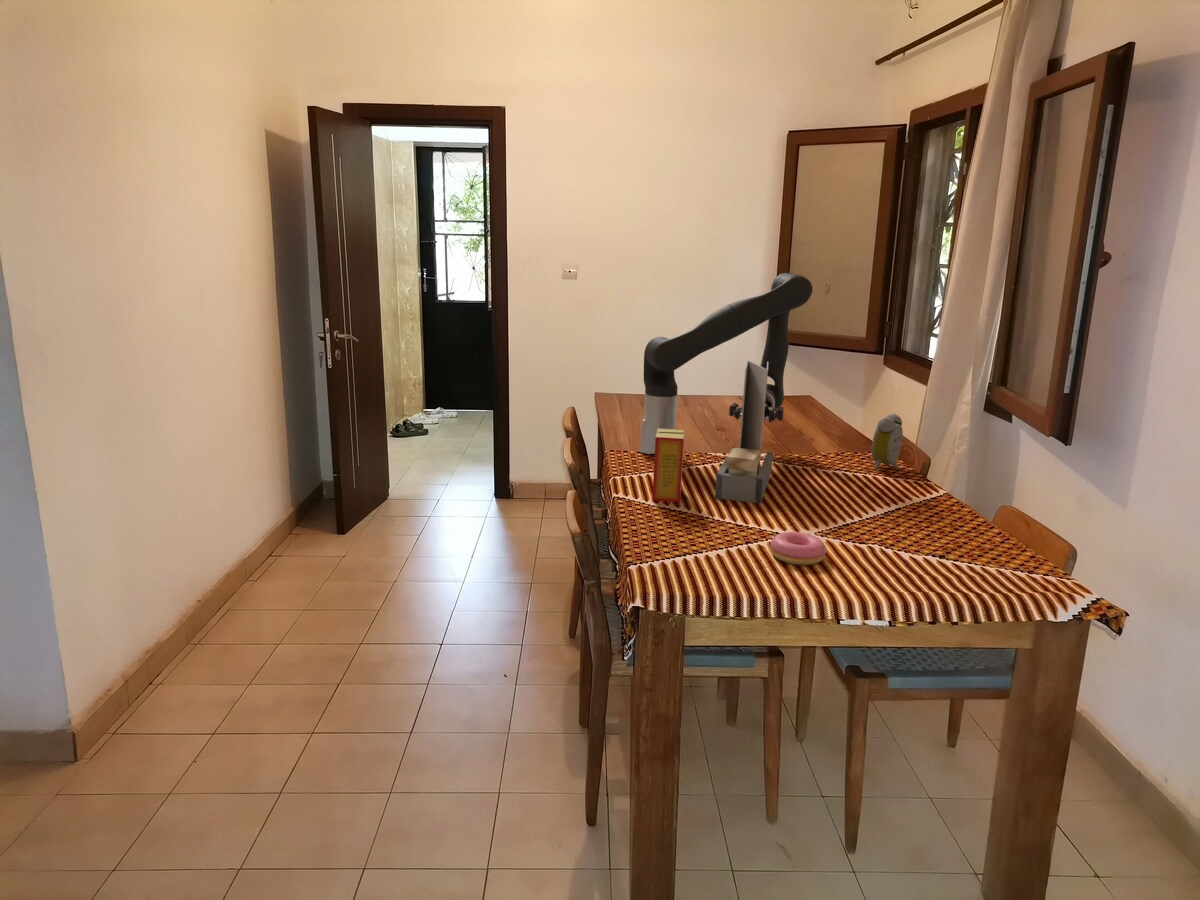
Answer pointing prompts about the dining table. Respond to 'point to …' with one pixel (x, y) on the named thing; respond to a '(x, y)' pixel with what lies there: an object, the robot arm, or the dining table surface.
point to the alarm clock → (887, 441)
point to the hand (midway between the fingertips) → (753, 416)
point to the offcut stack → (743, 462)
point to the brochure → (753, 407)
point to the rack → (743, 483)
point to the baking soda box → (668, 465)
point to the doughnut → (798, 548)
